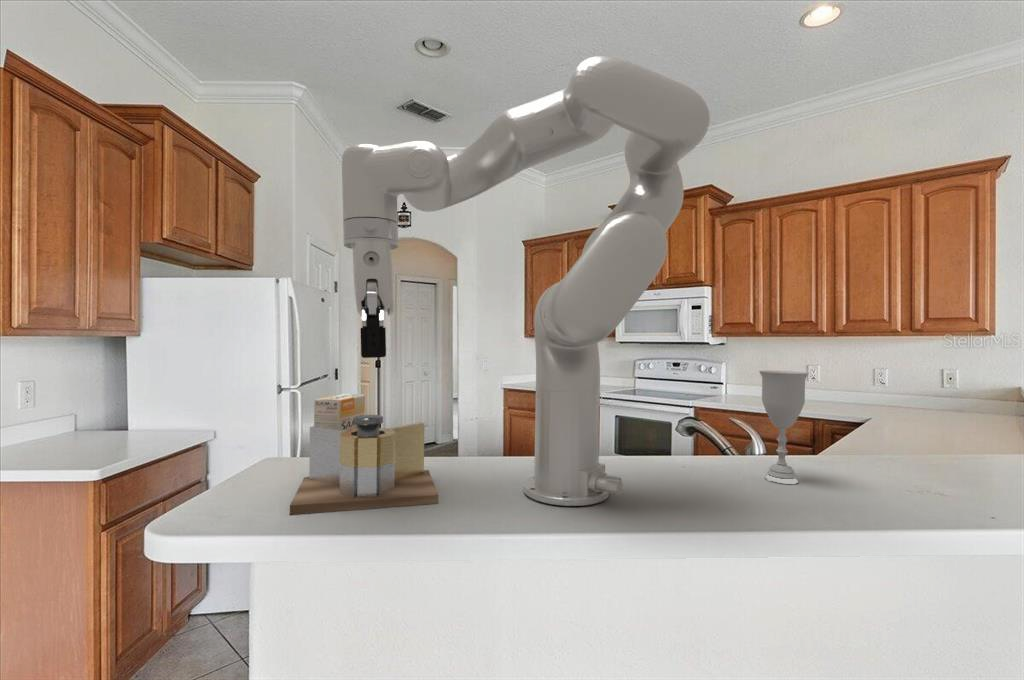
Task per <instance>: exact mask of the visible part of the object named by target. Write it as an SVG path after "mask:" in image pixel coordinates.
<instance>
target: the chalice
mask: <svg viewBox="0 0 1024 680" xmlns="http://www.w3.org/2000/svg"><path fill="white" fill-rule="evenodd" d="M758 372H759V374H760V376H761V379H762V380H761V401H762V404H763V406H764V410H765V412H766V414H767V416H768V418H769V420H770V422H771V424H772V426H774V427H776V428H777V429H778V436H777V438H776V441H777V444H778V446H777V448H776V449H775V452H776V453H777V457H778V458H777V459H778V460H777V462H775V463H774V464H772V465H771V466H769V468H768V470H767V472H766V475H767V474H768V475H769V476H772V477H775V478H780V479H794V478H797V475H796V473H795V470H794V469H793V468H792V467H791V466H790V465H788V463H787V462H786V456H787V453H789V451H788V449H787V448H786V444H787V442H788V441H789V440H788V439H787V434H786V432H787V429H789V428H793V426H794V425H795V423H796V421H797V420H798V418H799V416H800V415H801V412H802V411H803V408H804V406H805V399H806V379H807V377H808V376H809V374H810V373H809V372H805V371H795V370H793V371H792V370H791V371H790V370H758Z"/></svg>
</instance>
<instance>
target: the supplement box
mask: <svg viewBox="0 0 1024 680" xmlns="http://www.w3.org/2000/svg"><path fill="white" fill-rule="evenodd" d="M365 399H366V395H365V394H359V393H358V394H355V393H354V394H353V393H341V394H336V395H330V396H327V397H321V398H320V397H319V398H315V399H314V400H313V401H314V403H313V404H314V405H313V407H314V408H313V410H314V411H313V412H314V413H313V426H321V427H329V428H337V429H346V430H354V429H357V425H356V424H354V417H355V416H360V415H365V403H366V401H365Z"/></svg>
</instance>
